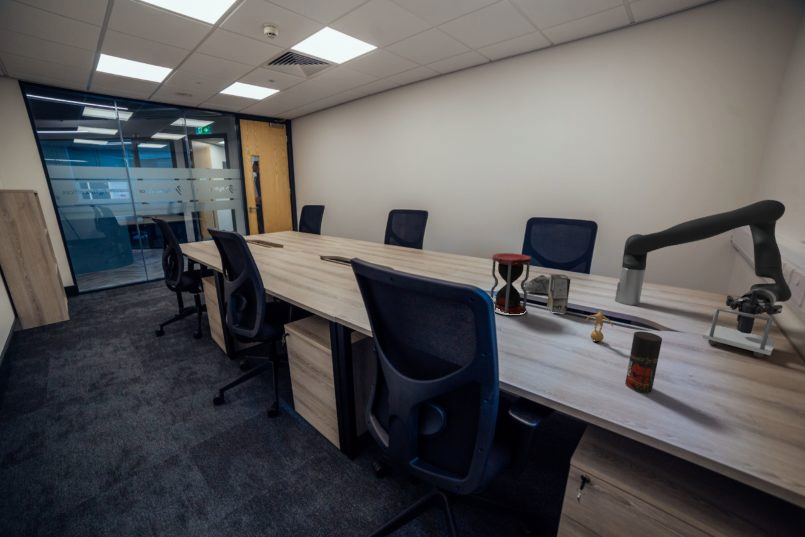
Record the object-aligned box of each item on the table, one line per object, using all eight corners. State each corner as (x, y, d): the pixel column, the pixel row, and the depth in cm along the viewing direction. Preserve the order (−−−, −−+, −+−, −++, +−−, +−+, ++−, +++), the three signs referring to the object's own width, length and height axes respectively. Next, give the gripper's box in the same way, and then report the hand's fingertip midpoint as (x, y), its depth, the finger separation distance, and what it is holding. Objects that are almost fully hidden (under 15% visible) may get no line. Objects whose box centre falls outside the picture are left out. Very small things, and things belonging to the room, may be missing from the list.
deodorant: (620, 381, 91) (628, 331, 87) (639, 380, 91) (649, 331, 88) (636, 393, 85) (646, 341, 82) (657, 392, 85) (668, 340, 82)
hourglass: (486, 313, 142) (490, 258, 137) (491, 302, 157) (494, 252, 151) (525, 318, 136) (531, 261, 131) (526, 306, 151) (531, 254, 145)
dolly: (701, 344, 114) (709, 306, 111) (710, 333, 123) (718, 298, 119) (768, 362, 101) (780, 320, 98) (773, 349, 110) (784, 310, 107)
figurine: (610, 342, 115) (615, 310, 112) (608, 348, 110) (614, 315, 107) (583, 336, 119) (588, 305, 117) (581, 342, 115) (586, 310, 112)
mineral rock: (522, 292, 173) (524, 274, 171) (529, 288, 181) (530, 271, 179) (547, 297, 165) (549, 278, 163) (553, 292, 173) (555, 274, 171)
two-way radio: (752, 335, 107) (762, 292, 104) (733, 332, 110) (742, 290, 107) (748, 329, 112) (757, 288, 108) (730, 327, 114) (739, 286, 111)
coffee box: (566, 315, 141) (571, 279, 137) (551, 313, 142) (555, 278, 139) (561, 308, 150) (565, 274, 146) (546, 307, 151) (550, 273, 147)
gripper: (733, 285, 121) (718, 293, 112) (791, 295, 109) (780, 304, 101) (729, 304, 123) (713, 313, 114) (785, 315, 111) (773, 326, 102)
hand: (744, 309), depth 107 cm, fingers closed on two-way radio, 4 cm apart
